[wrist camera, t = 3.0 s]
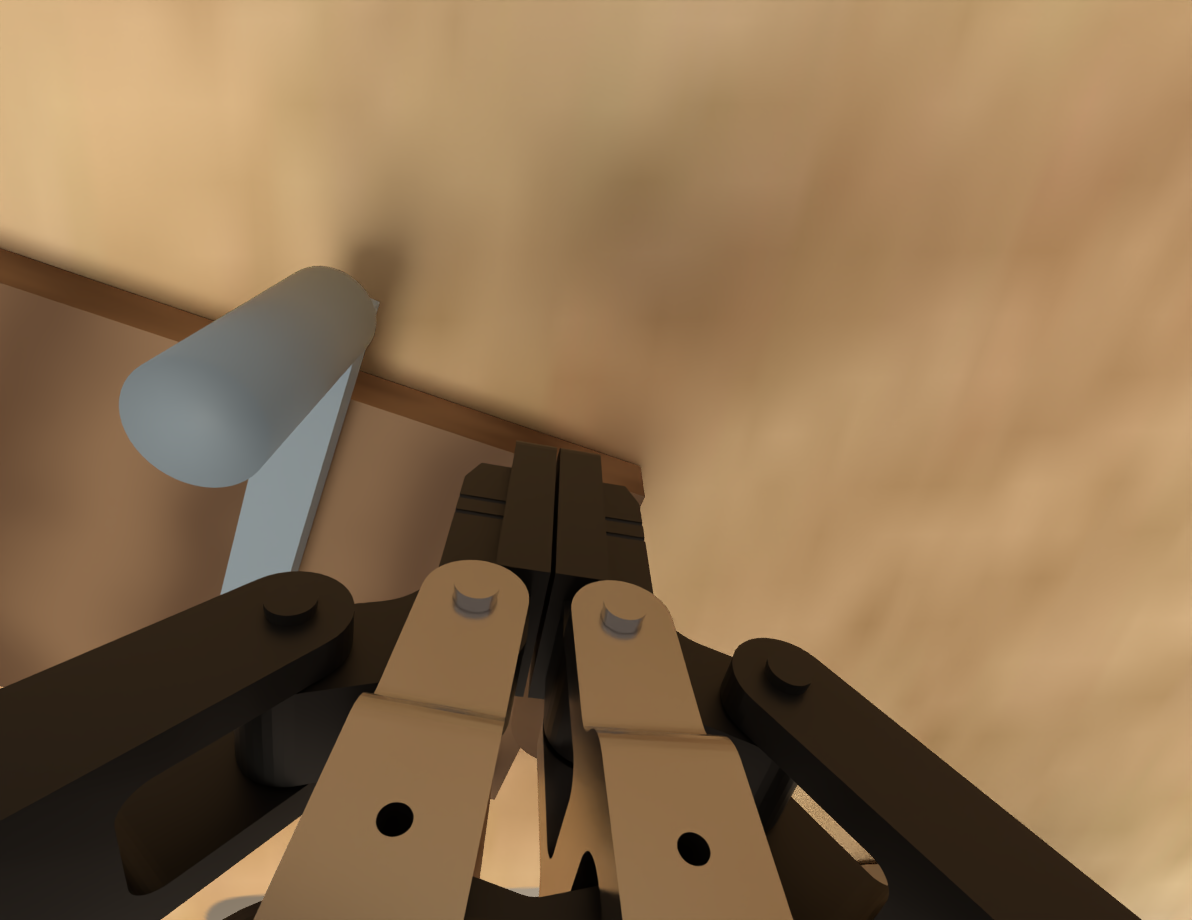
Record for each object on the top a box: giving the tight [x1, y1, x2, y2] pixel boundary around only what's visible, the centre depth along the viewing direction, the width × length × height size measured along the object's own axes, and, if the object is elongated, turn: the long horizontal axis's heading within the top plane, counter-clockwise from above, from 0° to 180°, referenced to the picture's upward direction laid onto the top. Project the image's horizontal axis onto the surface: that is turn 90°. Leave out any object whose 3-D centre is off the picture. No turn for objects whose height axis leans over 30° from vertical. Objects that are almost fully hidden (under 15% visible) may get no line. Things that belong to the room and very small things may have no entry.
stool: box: [0, 249, 645, 879], centre depth 20 cm, size 24×16×10 cm, turn 69°
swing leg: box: [119, 266, 380, 595], centre depth 18 cm, size 18×3×8 cm, turn 155°
